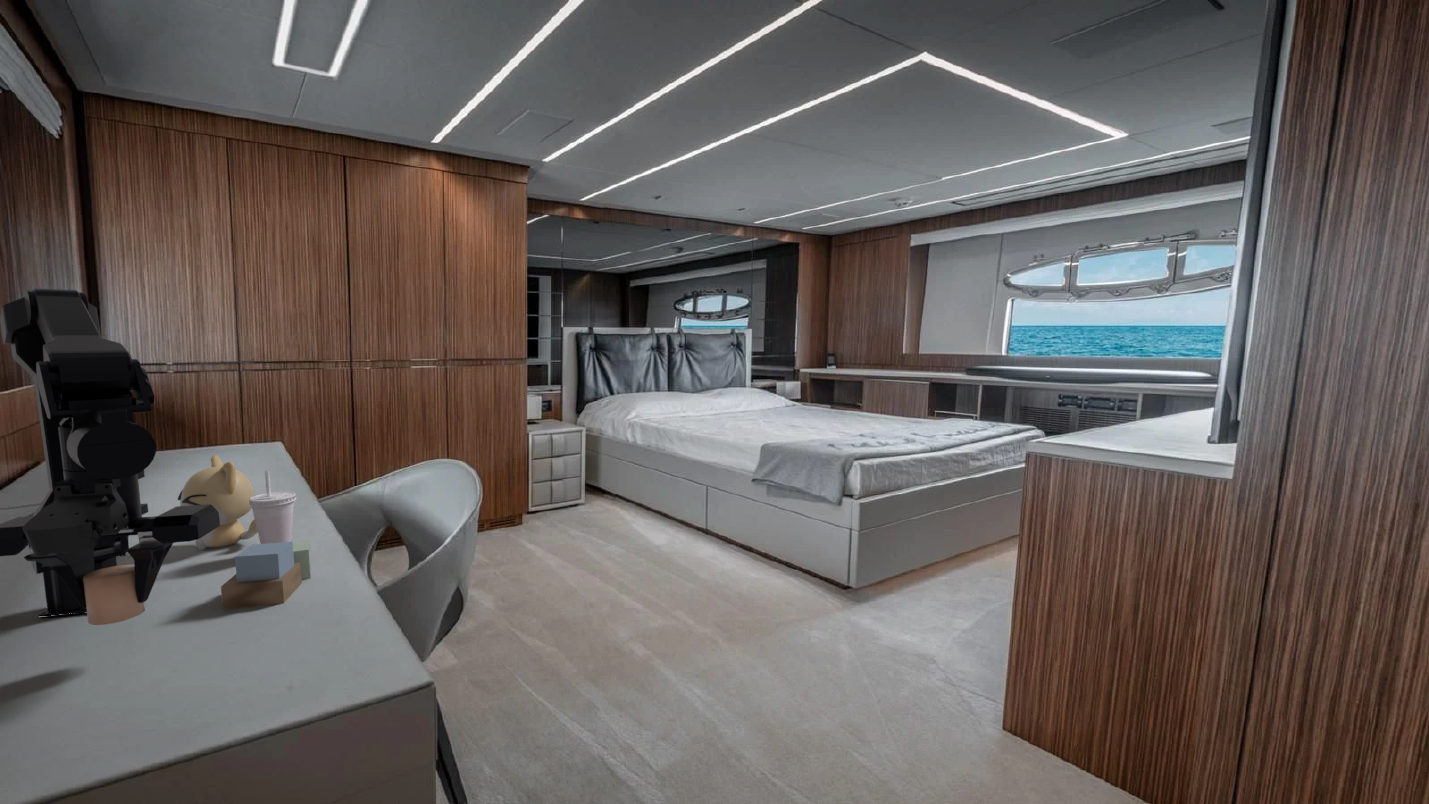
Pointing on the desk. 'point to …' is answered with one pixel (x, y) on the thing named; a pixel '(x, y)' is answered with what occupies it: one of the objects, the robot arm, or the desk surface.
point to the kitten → (221, 501)
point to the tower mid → (264, 561)
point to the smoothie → (273, 514)
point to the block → (303, 558)
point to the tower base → (260, 590)
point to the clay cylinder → (111, 595)
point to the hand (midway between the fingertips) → (116, 604)
